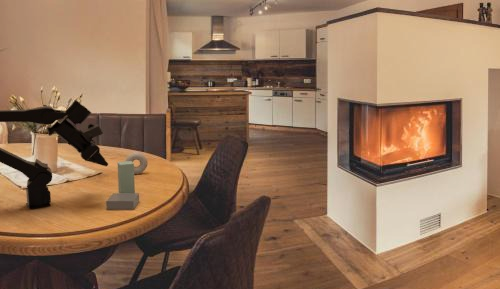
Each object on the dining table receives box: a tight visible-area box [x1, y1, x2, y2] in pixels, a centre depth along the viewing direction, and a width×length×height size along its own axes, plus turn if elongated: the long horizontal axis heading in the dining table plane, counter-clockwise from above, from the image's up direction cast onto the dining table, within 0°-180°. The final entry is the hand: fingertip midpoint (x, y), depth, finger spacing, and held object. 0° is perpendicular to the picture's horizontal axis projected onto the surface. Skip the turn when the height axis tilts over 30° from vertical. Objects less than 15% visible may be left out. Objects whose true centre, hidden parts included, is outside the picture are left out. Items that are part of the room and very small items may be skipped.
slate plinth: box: [105, 192, 140, 211], centre depth 142 cm, size 9×9×3 cm
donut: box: [124, 151, 148, 175], centre depth 184 cm, size 10×4×10 cm, turn 109°
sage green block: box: [117, 160, 136, 193], centre depth 153 cm, size 5×5×12 cm
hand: (105, 162), depth 148 cm, fingers open, 9 cm apart
